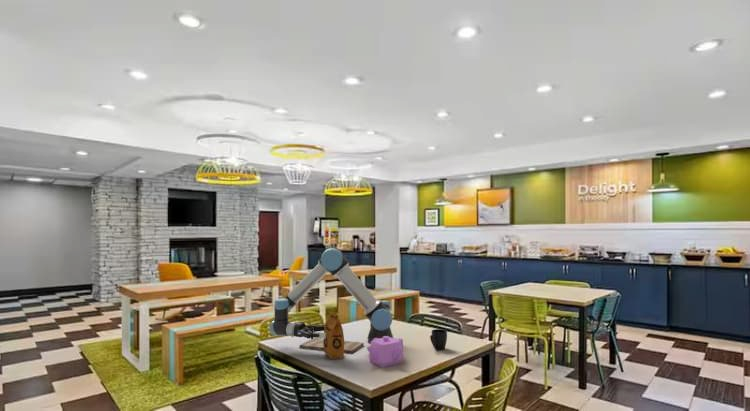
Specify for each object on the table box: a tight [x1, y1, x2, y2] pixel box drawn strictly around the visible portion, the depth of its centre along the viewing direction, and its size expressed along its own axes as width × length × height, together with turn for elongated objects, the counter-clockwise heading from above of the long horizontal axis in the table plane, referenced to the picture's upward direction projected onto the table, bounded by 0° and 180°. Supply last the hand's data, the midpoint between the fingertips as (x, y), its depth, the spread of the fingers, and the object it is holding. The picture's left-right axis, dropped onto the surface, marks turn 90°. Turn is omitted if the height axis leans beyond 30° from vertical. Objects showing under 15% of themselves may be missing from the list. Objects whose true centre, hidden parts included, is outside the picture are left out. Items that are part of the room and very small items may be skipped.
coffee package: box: [323, 310, 345, 360], centre depth 210 cm, size 10×12×22 cm
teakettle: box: [366, 336, 404, 368], centre depth 200 cm, size 17×17×12 cm
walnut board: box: [299, 337, 365, 355], centre depth 227 cm, size 32×16×2 cm, turn 68°
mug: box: [429, 328, 448, 351], centre depth 219 cm, size 8×12×10 cm
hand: (331, 332), depth 211 cm, fingers open, 13 cm apart
